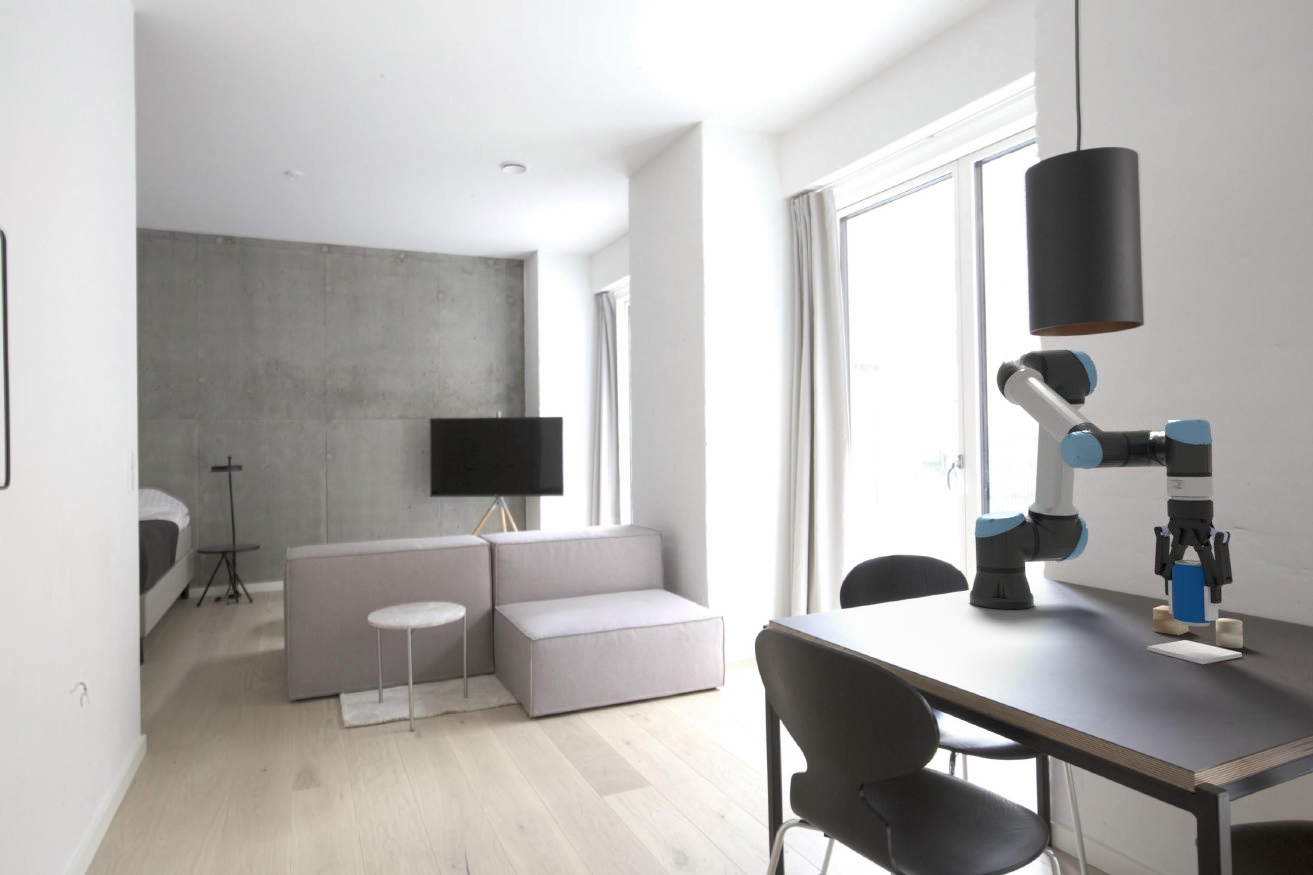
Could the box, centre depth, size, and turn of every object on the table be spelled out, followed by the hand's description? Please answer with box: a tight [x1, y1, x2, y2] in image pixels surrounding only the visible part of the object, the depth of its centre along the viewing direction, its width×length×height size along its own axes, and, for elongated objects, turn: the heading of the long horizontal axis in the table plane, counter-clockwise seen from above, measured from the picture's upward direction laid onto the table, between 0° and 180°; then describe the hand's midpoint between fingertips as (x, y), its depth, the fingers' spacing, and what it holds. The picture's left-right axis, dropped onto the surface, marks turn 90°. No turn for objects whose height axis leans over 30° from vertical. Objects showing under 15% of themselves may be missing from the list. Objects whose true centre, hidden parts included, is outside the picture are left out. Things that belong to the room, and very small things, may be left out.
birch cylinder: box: [1215, 617, 1244, 649], centre depth 162 cm, size 4×4×5 cm
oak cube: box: [1152, 604, 1190, 636], centre depth 175 cm, size 5×5×5 cm
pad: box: [1147, 639, 1243, 665], centre depth 157 cm, size 11×11×1 cm
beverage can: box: [1172, 559, 1214, 627], centre depth 157 cm, size 6×6×12 cm
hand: (1193, 616), depth 157 cm, fingers closed on beverage can, 6 cm apart
